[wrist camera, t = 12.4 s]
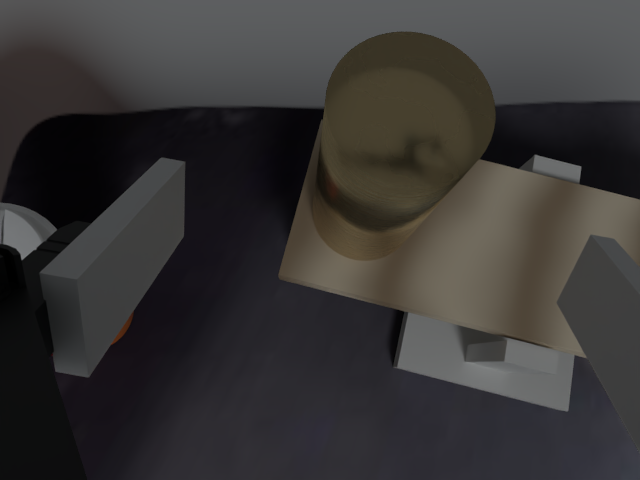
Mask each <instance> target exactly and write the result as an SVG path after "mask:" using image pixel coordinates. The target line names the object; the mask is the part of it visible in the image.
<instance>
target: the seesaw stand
mask: <svg viewBox="0 0 640 480" xmlns="http://www.w3.org/2000/svg"><path fill="white" fill-rule="evenodd" d="M519 169H520V170H524V171H528V172H532V173H536V174H540V175H544V176H548V177H552V178H556V179H560V180H564V181H568V182H572V183H576V184H579V182H580V174H581V166H577V165H573V164H569V163H565V162H561V161H557V160H553V159H549V158H545V157H541V156H538V155H534V156H533V157H532V158H531V159H529V160H528V161H527V162H526V163H525V164H524V165H523V166H521V167H520V168H519ZM573 364H574V355H573V354H569V353H565V352H561V351H557V350H553V349H549V348H545V347H541V346H537V345H534V344H530V343H526V342H522V341H518V340H514V339H510V338H506V337H502V336H499V335H495V334H491V333H487V332H483V331H479V330H475V329H471V328H467V327H464V326H460V325H456V324H452V323H448V322H444V321H440V320H436V319H432V318H429V317H425V316H421V315H417V314H413V313H409V312H405V311H404V316H403V321H402V326H401V330H400V335H399V340H398V345H397V350H396V355H395V360H394V365H393V367H394V368H398V369H402V370H406V371H410V372H414V373H418V374H421V375H425V376H429V377H433V378H437V379H441V380H445V381H448V382H452V383H456V384H460V385H464V386H468V387H472V388H475V389H479V390H483V391H487V392H491V393H495V394H499V395H503V396H506V397H510V398H514V399H518V400H522V401H526V402H530V403H533V404H537V405H541V406H545V407H549V408H553V409H557V410H562V411H568V408H569V399H570V390H571V381H572V373H573Z"/></svg>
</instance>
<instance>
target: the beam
mask: <svg viewBox="0 0 640 480" xmlns="http://www.w3.org/2000/svg"><path fill="white" fill-rule="evenodd" d="M322 124H323V120H322V119H321V123H320V127H319V130H318V134H317V137H316V141H315V145H314V148H313V152H312V156H311V159H310V163H309V166H308V170H307V174H306V177H305V181H304V184H303V188H302V192H301V195H300V199H299V202H298V206H297V210H296V213H295V217H294V220H293V224H292V228H291V231H290V235H289V239H288V242H287V246H286V249H285V253H284V257H283V260H282V264H281V267H280V271H279V279H281V280H285V281H288V282H292V283H296V284H300V285H304V286H308V287H312V288H316V289H320V290H324V291H327V292H331V293H335V294H339V295H343V296H347V297H351V298H355V299H359V300H362V301H366V302H370V303H374V304H378V305H382V306H386V307H390V308H394V309H397V310H401V311H405V312H409V313H413V314H417V315H421V316H425V317H429V318H432V319H436V320H440V321H444V322H448V323H452V324H456V325H460V326H464V327H467V328H471V329H475V330H479V331H483V332H487V333H491V334H495V335H499V336H502V337H506V338H510V339H514V340H518V341H522V342H526V343H530V344H534V345H537V346H541V347H545V348H549V349H553V350H557V351H561V352H565V353H569V354H573V355H576V356H580V357H584V358H587V357H586V355H585V354H584V352H583V350H582V348H581V346H580V345H579V343H578V341H577V339H576V337H575V335H574V334H573V332H572V330H571V328H570V326H569V325H568V323H567V321H566V319H565V317H564V316H563V314H562V312H561V310H560V308H559V306H558V305H557V303H556V302H557V300H558V298H559V296H560V294H561V292H562V290H563V288H564V286H565V284H566V282H567V280H568V278H569V276H570V274H571V272H572V270H573V268H574V266H575V264H576V262H577V260H578V259H579V257H580V255H581V253H582V251H583V249H584V247H585V245H586V243H587V241H588V239H589V237H590V235H597V236H602V237H608V238H613V239H615V240H616V241H617V242H618V243H619V245H620V246H621V247H622V248H623V249H624V250H625V251H626V252H627V254H628V255H629V256H630V257H631V258H632V259H633V260H634V261H635V263H636V264H637V265H638V266H639V267H640V200H639V199H635V198H631V197H627V196H623V195H619V194H615V193H611V192H607V191H604V190H600V189H596V188H592V187H588V186H584V185H580V184H576V183H572V182H568V181H564V180H560V179H556V178H552V177H548V176H544V175H540V174H536V173H532V172H528V171H524V170H520V169H516V168H512V167H508V166H504V165H500V164H496V163H492V162H488V161H484V160H480V159H479V160H478V161H477V162H476V163H475V164H474V166H473V167H472V168H471V169H470V170H469V171H468V172H467V173H466V174H465V176H464V177H463V178H462V179H461V180H460V181H459V182H458V183H457V184H456V185H455V187H454V188H453V189H452V190H451V191H450V192H449V193H448V194H447V195H446V197H445V198H444V199H443V200H442V201H441V202H440V203H439V204H438V205H437V207H436V208H435V209H434V210H433V211H432V212H431V213H430V214H429V215H428V217H427V218H426V219H425V220H424V221H423V222H422V223H421V224H420V225H419V226H418V228H417V229H416V230H415V231H414V232H413V233H412V234H411V235H410V236H409V238H408V239H407V240H406V241H405V242H404V243H403V244H402V245H401V246H400V247H399V248H398V249H397V250H396V251H395V252H393V253H391V254H390V255H388V256H386V257H383V258H380V259H377V260H371V261H360V260H353V259H349V258H347V257H344V256H342V255H340V254H338V253H336V252H335V251H333V250H332V249H331V248H330V247H329V246H328V245H326V243H325V242H324V241H323V240H322V239H321V237H320V235H319V234H318V232H317V230H316V227H315V224H314V221H313V215H312V207H313V198H314V190H315V182H316V173H317V165H318V157H319V149H320V140H321V132H322Z"/></svg>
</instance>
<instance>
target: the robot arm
mask: <svg viewBox="0 0 640 480" xmlns="http://www.w3.org/2000/svg"><path fill="white" fill-rule="evenodd" d="M184 195H185V162H183V161H178V160H172V159H166V158H160V159H159V160H158V161H157V162H156V163H155V164H154V165H153V166H152V167H151V168H150V169H149V170H148V171H147V172H145V173H144V174H143V175H142V176H141V177H140V178H139V179H138V180H137V181H136V182H135V183H134V184H133V185H132V186H131V187H130V188H129V189H128V190H126V191H125V192H124V193H123V194H122V195H121V196H120V197H119V198H118V199H117V200H116V201H115V202H114V203H113V204H112V205H111V206H110V207H108V208H107V209H106V210H105V211H104V212H103V213H102V214H101V215H100V216H99V217H98V218H97V219H96V220H95V221H94V222H93V223H87V222H81V221H75V222H73V223H71V224H68V225H66V226H63V227H61V228H59V229H58V230H56V231H55V232H54V233H53V234H52V235H51V236H49V237H48V238H47V240H46V241H44V242H43V243H41V244H40V245H39V246H38V247H37V249H36V250H33V251H32V252H31V253H30V254H29V255H27V256H26V257H25V258H24V259H23V260H22V259H21V254H20V253H19V252H18V251H17V249H16V248H13V247H11V246H8V245H5V244H0V480H87V477H86V474H85V471H84V468H83V465H82V462H81V458H80V455H79V452H78V449H77V446H76V442H75V439H74V436H73V433H72V430H71V427H70V423H69V420H68V417H67V414H66V411H65V407H64V404H63V401H62V398H61V395H60V392H59V388H58V385H57V382H56V379H55V376H54V372H53V369H52V366H51V363H50V360H49V357H50V356H51V354H52V353H53V359H54V365H55V371H56V372H61V373H67V374H72V375H78V376H84V377H89V376H90V375H91V373H92V372H93V370H94V369H95V367H96V366H97V364H98V363H99V361H100V360H101V358H102V357H103V355H104V354H105V352H106V351H107V349H108V348H109V346H110V345H111V343H112V342H113V341H114V339H115V338H116V336H117V335H118V333H119V332H120V330H121V329H122V327H123V326H124V324H125V323H126V321H127V320H128V318H129V317H130V315H131V314H132V312H133V311H134V309H135V308H136V306H137V305H138V303H139V302H140V300H141V299H142V297H143V296H144V294H145V293H146V291H147V290H148V289H149V287H150V286H151V284H152V283H153V281H154V280H155V278H156V277H157V275H158V274H159V272H160V271H161V269H162V268H163V266H164V265H165V263H166V262H167V260H168V259H169V257H170V256H171V254H172V253H173V251H174V250H175V248H176V247H177V245H178V244H179V242H180V241H181V239H182V238H183V237H184ZM556 303H557V305H558V306H559V308H560V310H561V312H562V314H563V316H564V317H565V319H566V321H567V323H568V325H569V326H570V328H571V330H572V332H573V334H574V335H575V337H576V339H577V341H578V343H579V345H580V346H581V348H582V350H583V352H584V354H585V355H586V357H587V359H588V361H589V363H590V364H591V366H592V368H593V370H594V372H595V374H596V375H597V377H598V379H599V381H600V383H601V384H602V386H603V388H604V390H605V392H606V393H607V395H608V397H609V399H610V401H611V403H612V404H613V406H614V408H615V410H616V412H617V413H618V415H619V417H620V419H621V421H622V422H623V424H624V426H625V428H626V430H627V432H628V433H629V435H630V437H631V439H632V441H633V442H634V444H635V446H636V448H637V450H638V451H639V453H640V267H639V266H638V265H637V264H636V263H635V261H634V260H633V259H632V258H631V257H630V256H629V255H628V254H627V252H626V251H625V250H624V249H623V248H622V247H621V246H620V245H619V243H618V242H617V241H616V240H615V239H613V238H608V237H602V236H597V235H590V237H589V239H588V241H587V243H586V245H585V247H584V249H583V251H582V253H581V255H580V257H579V259H578V260H577V262H576V264H575V266H574V268H573V270H572V272H571V274H570V276H569V278H568V280H567V282H566V284H565V286H564V288H563V290H562V292H561V294H560V296H559V298H558V300H557V302H556Z"/></svg>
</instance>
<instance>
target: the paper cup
mask: <svg viewBox="0 0 640 480" xmlns="http://www.w3.org/2000/svg"><path fill="white" fill-rule="evenodd" d="M56 230H57V229H56V228H55V227H54V226H53V225H52V224H51V223H50V222H49V221H48V220H47V219H46V218H44V217H42V216H41V215H39V214H38V213H36V212H34V211H32V210H30V209H27V208H25V207H22V206H18V205H14V204H7V203H0V244H5V245H8V246H11V247H13V248H16V249H17V251H18V252H19V253H20V254H21V259H22V260H23V259H24V258H25V257H26V256H27V255H29V254H30V253H31V252H32V251H33V250H36V249H37V247H38V246H39V245H40V244H41V243H43V242H44V241H46V240H47V238H48V237H49V236H51V235H52V234H53V233H54V232H55V231H56ZM133 313H134V311H133V312H132V314H131V315H130V317H129V318H128V320H127V321H126V323H125V324H124V326H123V327H122V329H121V330H120V332H119V333H118V335H117V336H116V338H115V339H114V341H113V342H112V343H111V345H112V344H114V343H115V342H116V341H118V340H119V339H120V338H121V337H122V336H123V335H124V334H125V332H126V331H127V329H128V328H129V326H130V324H131V321H132V318H133ZM51 355H53V353H52V354H51Z"/></svg>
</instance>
